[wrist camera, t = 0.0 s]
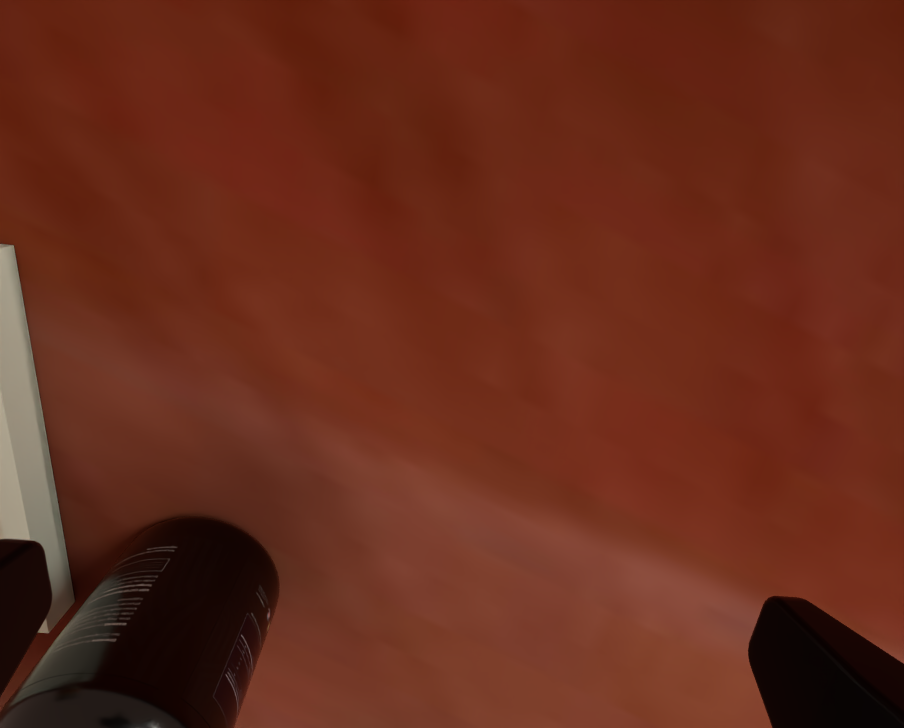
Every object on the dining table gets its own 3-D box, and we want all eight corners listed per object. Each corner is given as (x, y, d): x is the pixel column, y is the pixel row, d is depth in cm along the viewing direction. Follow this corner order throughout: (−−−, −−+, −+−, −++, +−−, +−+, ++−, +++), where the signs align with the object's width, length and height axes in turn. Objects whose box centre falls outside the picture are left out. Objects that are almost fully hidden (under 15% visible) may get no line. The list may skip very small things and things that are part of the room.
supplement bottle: (126, 621, 26) (-117, 978, 15) (129, 497, 24) (-158, 809, 12) (276, 644, 27) (151, 1006, 15) (293, 525, 24) (161, 848, 13)
